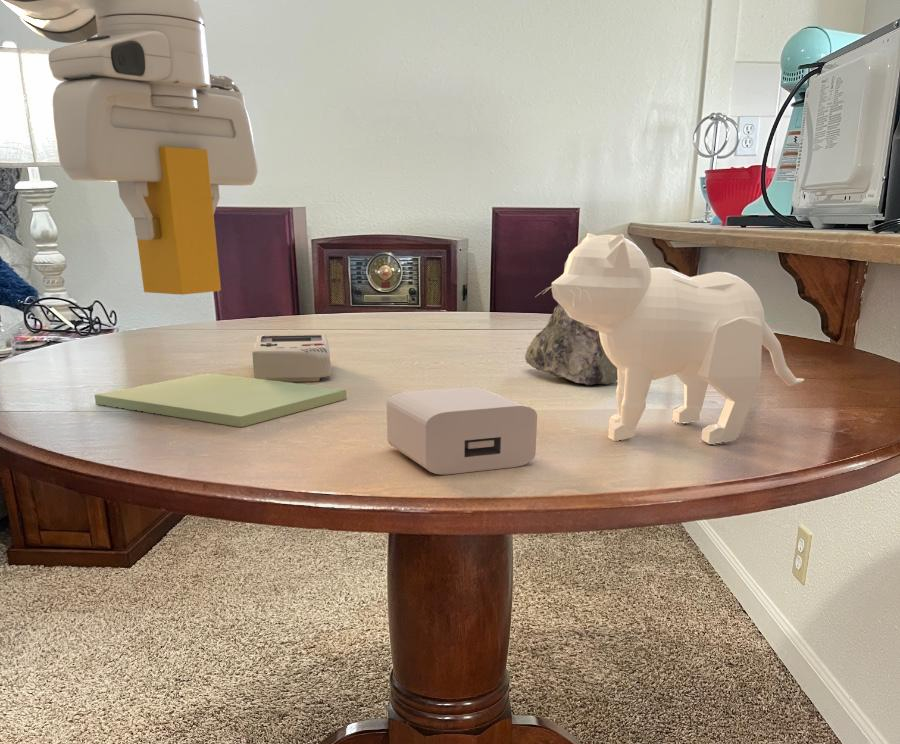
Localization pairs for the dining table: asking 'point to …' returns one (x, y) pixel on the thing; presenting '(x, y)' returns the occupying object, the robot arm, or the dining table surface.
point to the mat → (222, 398)
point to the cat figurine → (669, 332)
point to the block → (181, 227)
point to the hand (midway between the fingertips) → (176, 238)
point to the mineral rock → (570, 351)
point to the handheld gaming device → (291, 357)
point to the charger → (461, 429)
